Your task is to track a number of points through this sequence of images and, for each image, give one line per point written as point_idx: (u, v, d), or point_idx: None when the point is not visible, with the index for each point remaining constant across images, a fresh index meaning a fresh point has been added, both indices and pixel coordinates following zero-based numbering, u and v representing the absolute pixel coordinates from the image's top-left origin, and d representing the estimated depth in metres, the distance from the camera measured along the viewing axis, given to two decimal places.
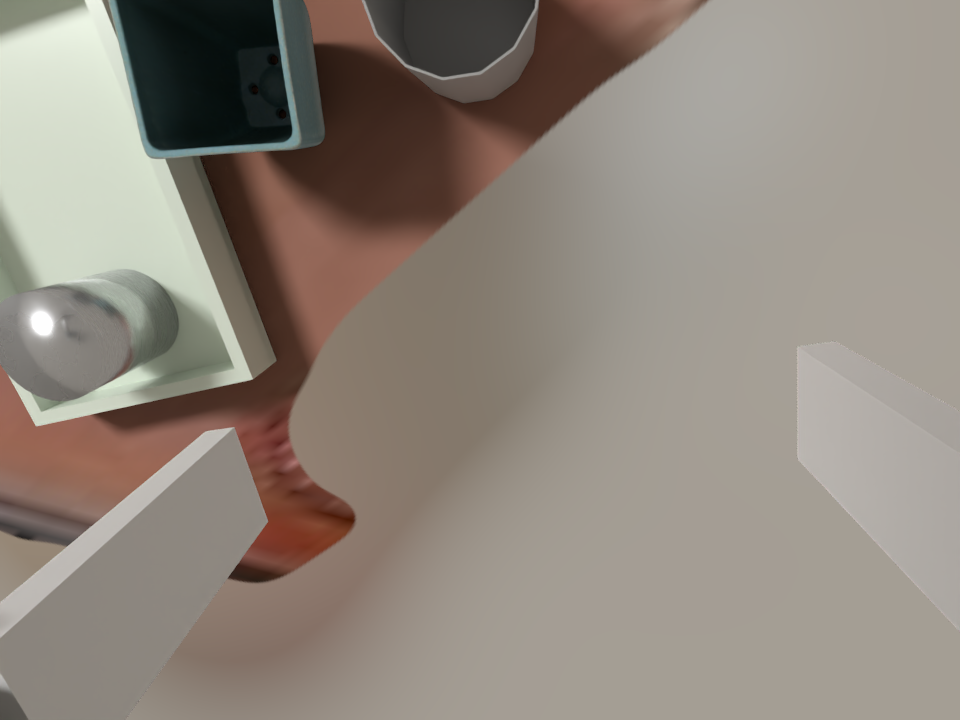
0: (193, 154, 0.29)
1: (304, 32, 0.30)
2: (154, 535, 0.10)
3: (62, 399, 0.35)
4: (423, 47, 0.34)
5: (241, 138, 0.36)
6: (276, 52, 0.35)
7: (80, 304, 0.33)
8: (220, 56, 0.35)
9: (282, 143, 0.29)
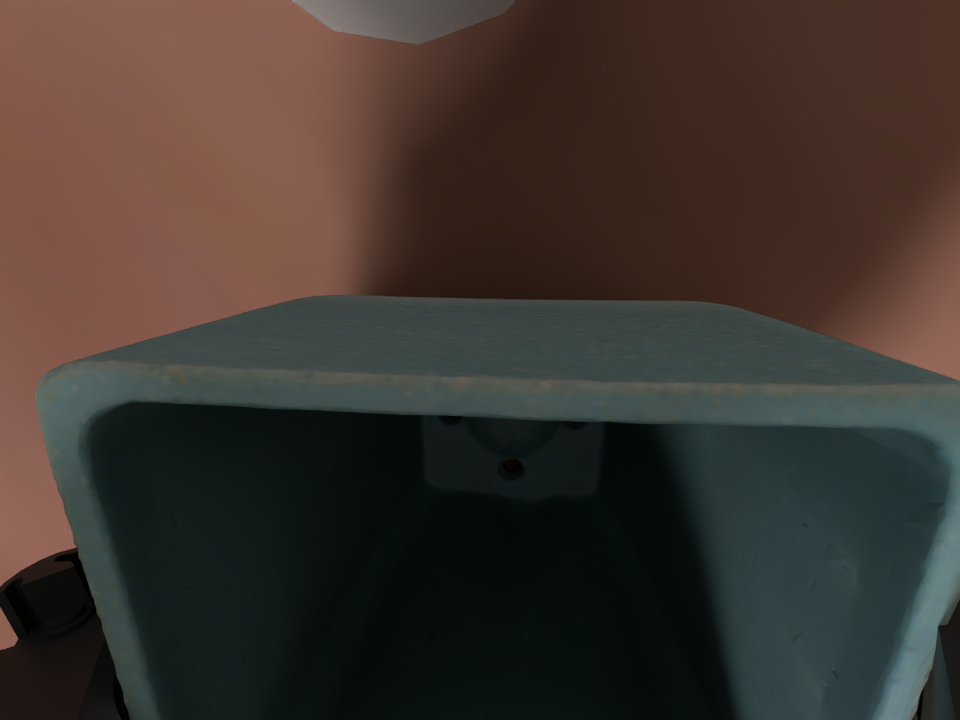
0: None
1: (390, 306, 0.09)
2: None
3: None
4: None
5: (636, 532, 0.13)
6: None
7: None
8: (439, 531, 0.14)
9: (958, 499, 0.05)
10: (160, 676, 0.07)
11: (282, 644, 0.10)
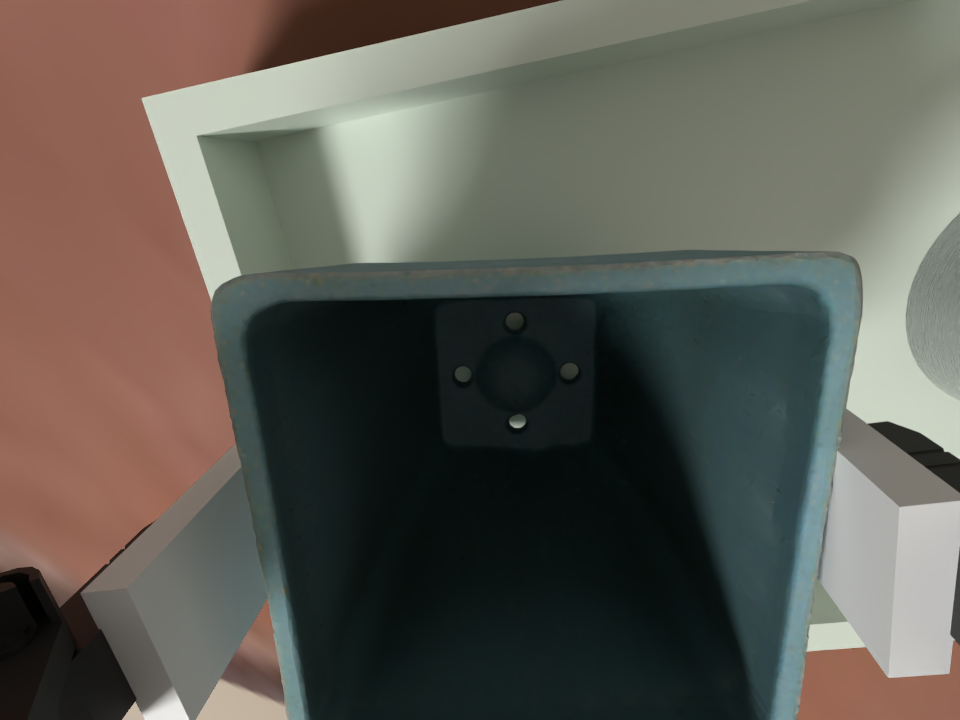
0: (805, 633, 0.09)
1: (428, 262, 0.11)
2: (244, 499, 0.11)
3: None
4: None
5: (627, 464, 0.16)
6: (449, 366, 0.17)
7: None
8: (459, 480, 0.16)
9: (836, 330, 0.07)
10: (283, 529, 0.09)
11: (347, 548, 0.12)
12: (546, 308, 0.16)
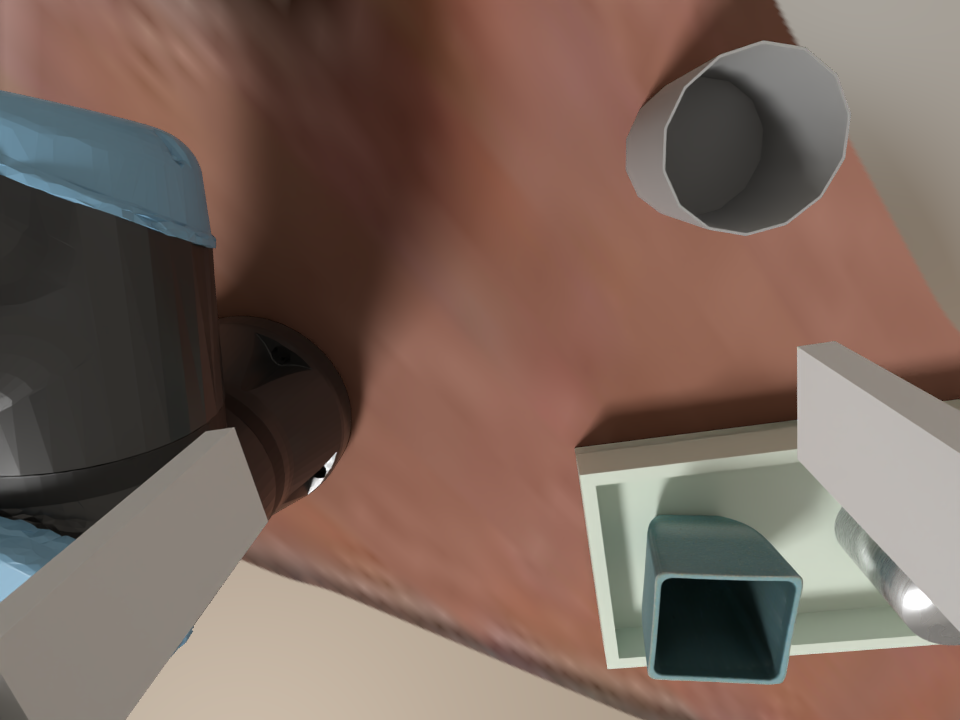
0: (788, 653, 0.35)
1: (682, 539, 0.37)
2: (155, 535, 0.10)
3: None
4: (704, 197, 0.35)
5: (730, 582, 0.42)
6: None
7: None
8: (663, 583, 0.43)
9: (796, 590, 0.34)
10: (658, 621, 0.35)
11: None
12: None
